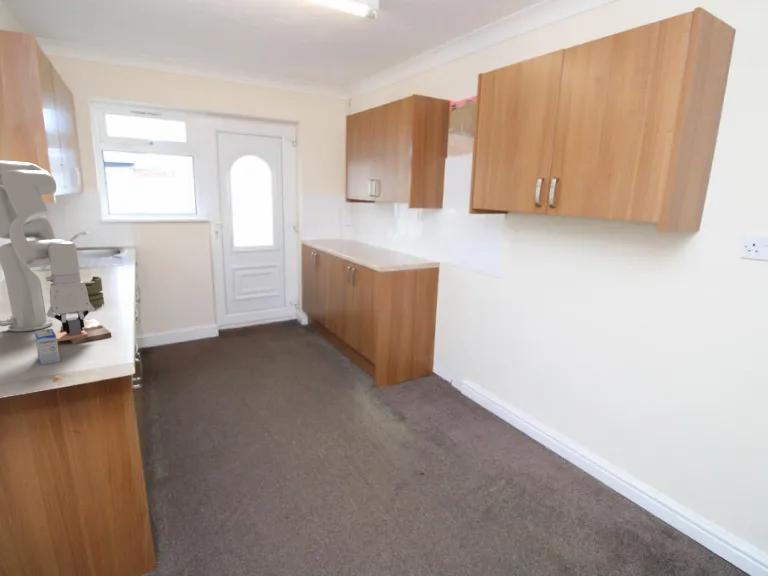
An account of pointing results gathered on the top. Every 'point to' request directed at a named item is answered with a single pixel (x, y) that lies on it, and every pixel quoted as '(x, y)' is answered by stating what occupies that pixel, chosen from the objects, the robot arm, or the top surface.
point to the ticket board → (91, 332)
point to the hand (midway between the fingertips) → (74, 330)
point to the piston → (95, 291)
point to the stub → (72, 330)
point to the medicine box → (47, 346)
